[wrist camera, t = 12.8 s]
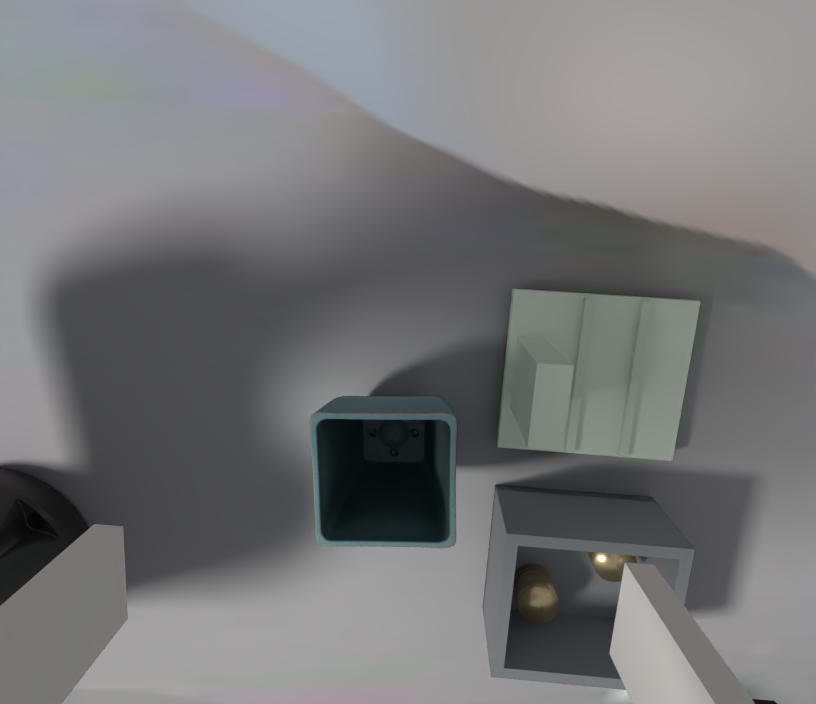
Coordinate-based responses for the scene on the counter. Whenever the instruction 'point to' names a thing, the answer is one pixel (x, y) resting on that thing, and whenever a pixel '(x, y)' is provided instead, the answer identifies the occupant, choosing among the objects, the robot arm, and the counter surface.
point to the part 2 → (610, 565)
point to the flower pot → (384, 472)
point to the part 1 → (535, 593)
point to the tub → (570, 578)
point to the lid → (595, 373)
